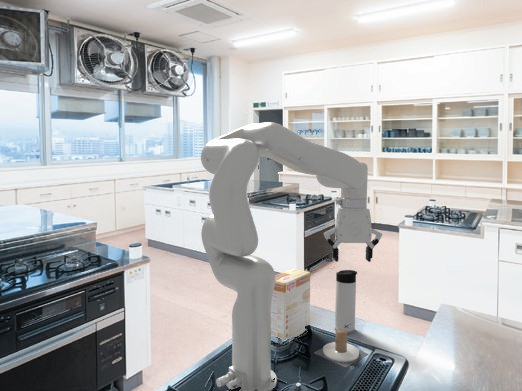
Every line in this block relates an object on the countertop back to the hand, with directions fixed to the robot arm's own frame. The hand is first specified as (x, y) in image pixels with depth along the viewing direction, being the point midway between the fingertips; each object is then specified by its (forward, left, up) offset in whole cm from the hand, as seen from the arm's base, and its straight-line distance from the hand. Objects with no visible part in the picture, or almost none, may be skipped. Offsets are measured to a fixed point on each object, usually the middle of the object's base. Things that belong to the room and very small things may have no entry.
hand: (352, 260), depth 121 cm
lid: (-10, -4, -24) cm, 27 cm away
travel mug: (+4, +5, -25) cm, 26 cm away
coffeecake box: (-12, +15, -25) cm, 31 cm away
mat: (-10, -4, -25) cm, 27 cm away
